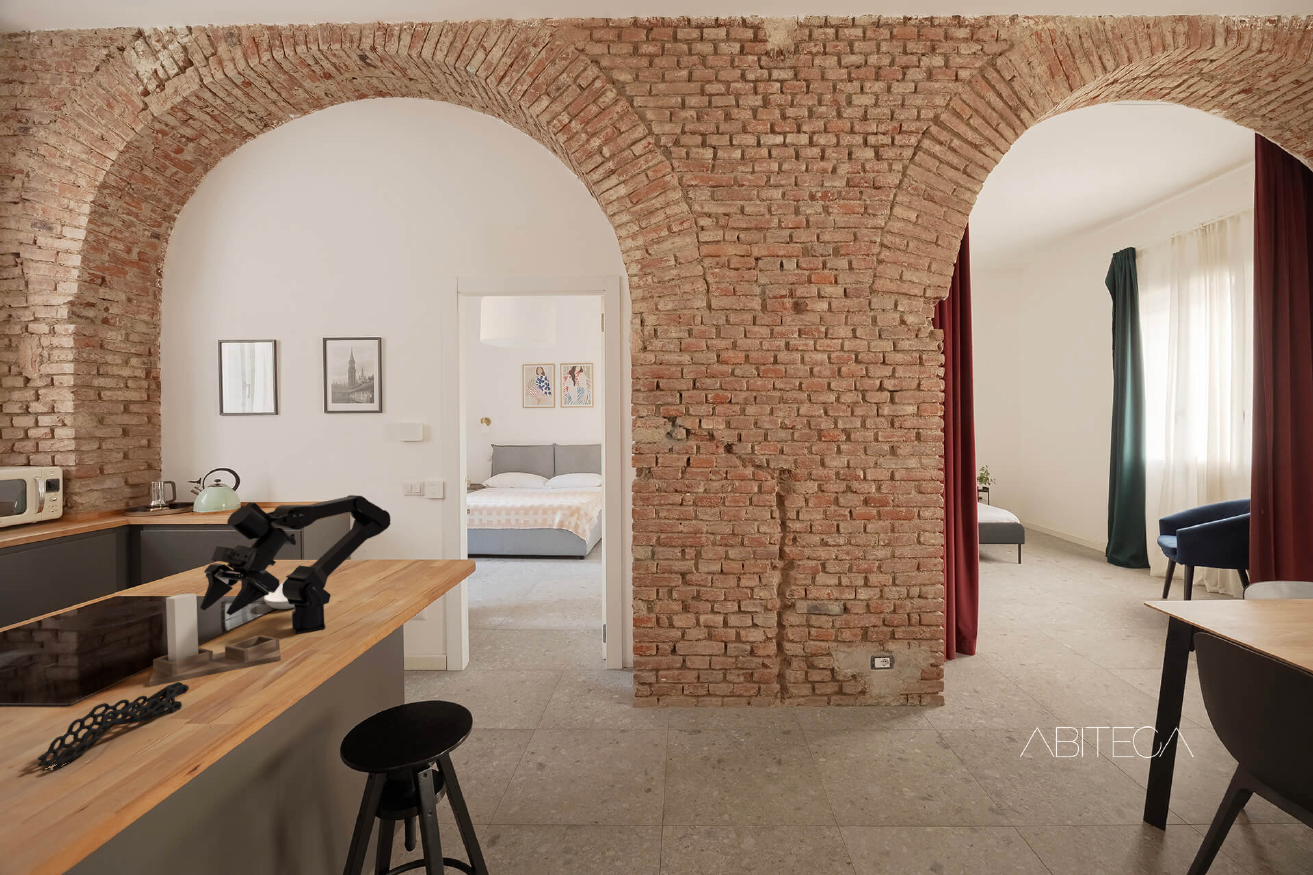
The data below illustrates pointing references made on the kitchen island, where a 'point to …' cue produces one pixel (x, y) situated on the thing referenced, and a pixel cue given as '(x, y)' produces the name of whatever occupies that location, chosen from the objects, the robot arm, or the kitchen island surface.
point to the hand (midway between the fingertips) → (214, 611)
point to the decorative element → (112, 722)
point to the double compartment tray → (217, 660)
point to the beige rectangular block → (182, 626)
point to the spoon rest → (278, 599)
